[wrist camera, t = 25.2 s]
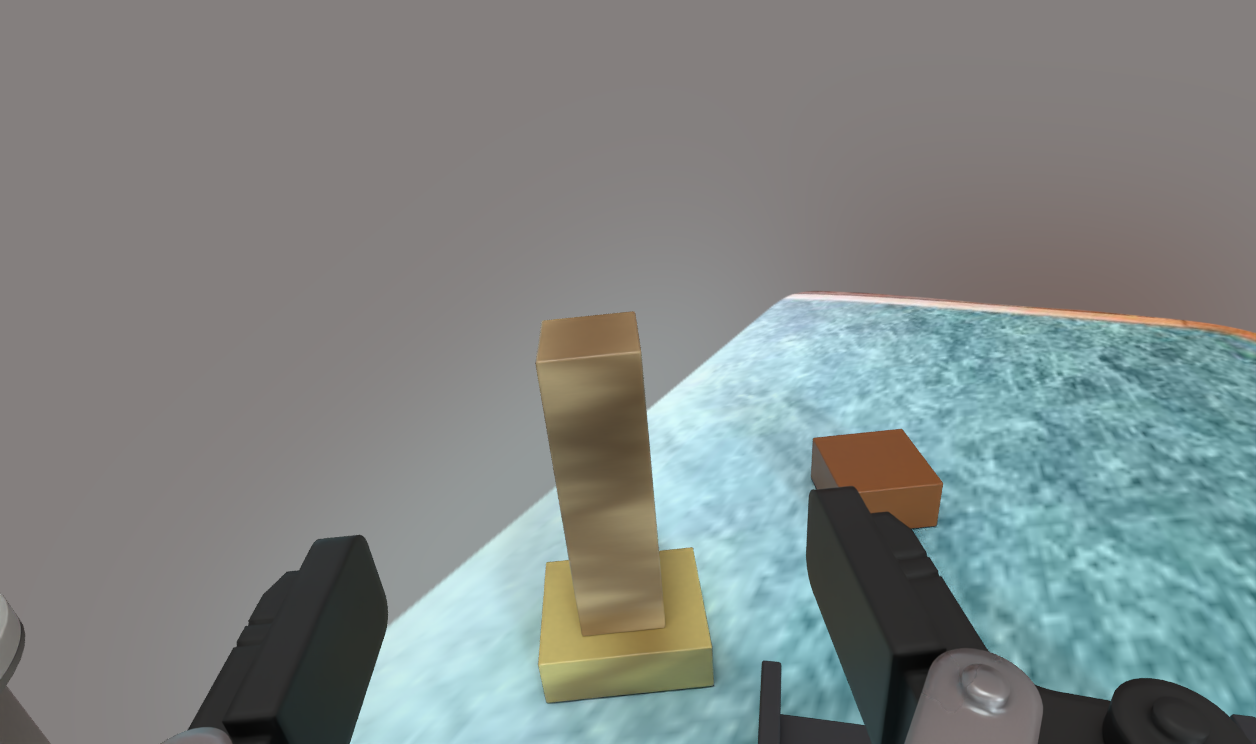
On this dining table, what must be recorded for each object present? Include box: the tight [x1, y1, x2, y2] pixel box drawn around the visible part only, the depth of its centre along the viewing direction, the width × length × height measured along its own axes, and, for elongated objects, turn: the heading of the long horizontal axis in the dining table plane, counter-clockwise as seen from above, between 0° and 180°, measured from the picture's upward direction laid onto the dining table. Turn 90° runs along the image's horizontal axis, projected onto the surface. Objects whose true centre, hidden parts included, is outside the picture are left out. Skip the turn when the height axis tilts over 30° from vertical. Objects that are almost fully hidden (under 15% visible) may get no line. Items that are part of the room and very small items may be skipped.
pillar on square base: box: [535, 312, 714, 703], centre depth 24 cm, size 6×5×13 cm
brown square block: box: [811, 429, 943, 529], centre depth 32 cm, size 4×4×2 cm
